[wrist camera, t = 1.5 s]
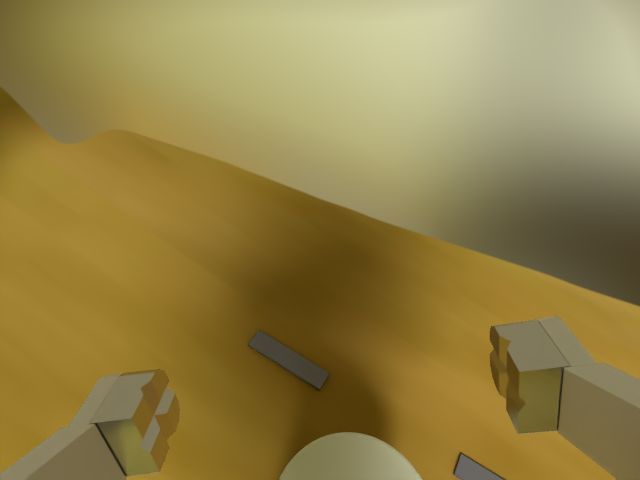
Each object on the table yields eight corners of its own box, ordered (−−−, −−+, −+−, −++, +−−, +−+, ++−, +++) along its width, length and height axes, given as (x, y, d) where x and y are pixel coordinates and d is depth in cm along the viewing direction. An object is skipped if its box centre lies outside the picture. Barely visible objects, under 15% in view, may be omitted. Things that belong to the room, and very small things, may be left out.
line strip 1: (248, 345, 42) (248, 343, 41) (259, 331, 43) (259, 330, 42) (319, 390, 39) (320, 388, 39) (329, 374, 41) (329, 373, 40)
